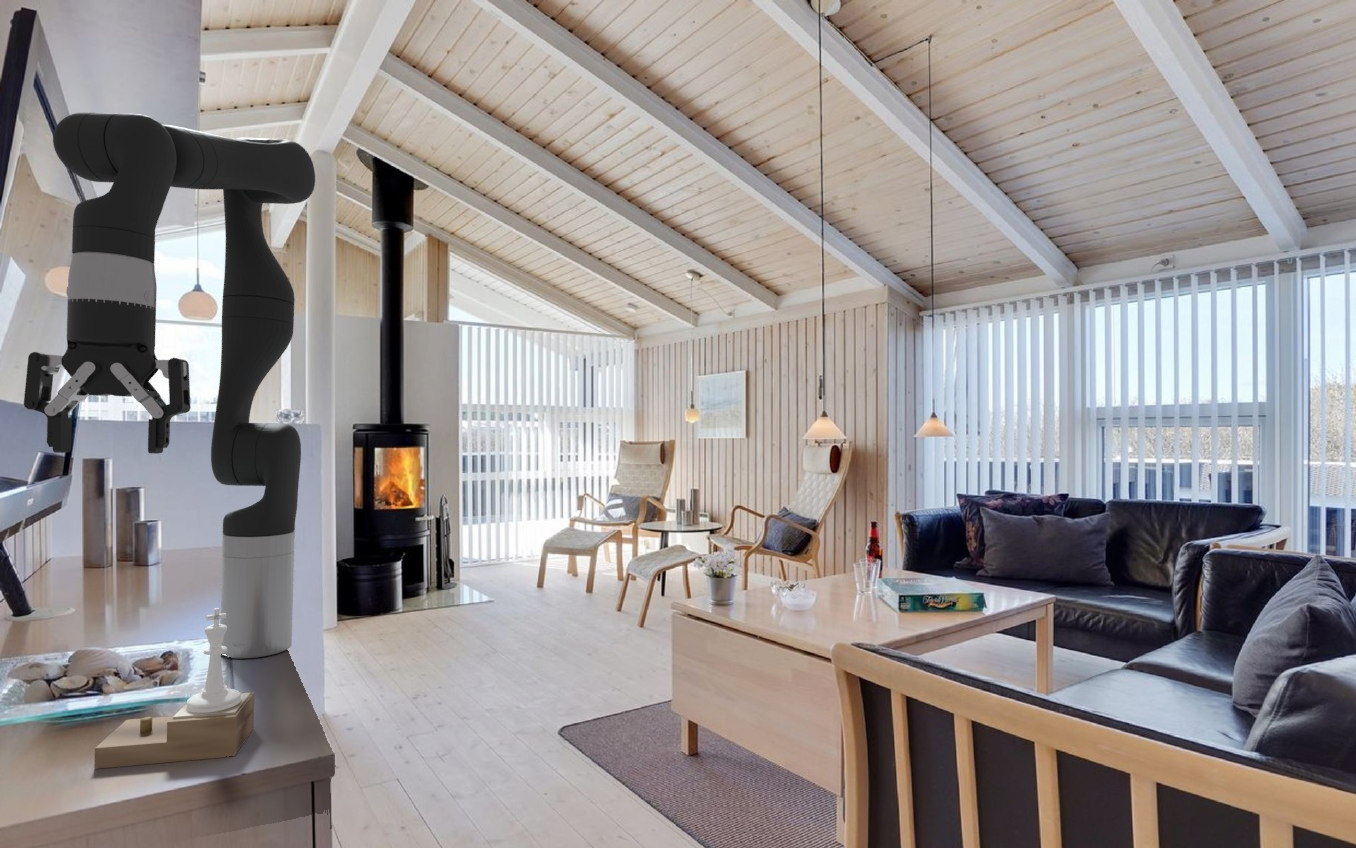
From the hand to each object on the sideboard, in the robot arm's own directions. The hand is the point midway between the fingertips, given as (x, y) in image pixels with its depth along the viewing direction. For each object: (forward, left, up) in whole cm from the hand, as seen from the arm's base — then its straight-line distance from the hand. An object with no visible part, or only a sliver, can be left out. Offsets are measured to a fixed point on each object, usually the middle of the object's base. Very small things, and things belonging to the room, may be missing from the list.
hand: (109, 452), depth 79 cm
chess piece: (+6, +12, -26) cm, 29 cm away
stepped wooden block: (+6, +9, -30) cm, 32 cm away
